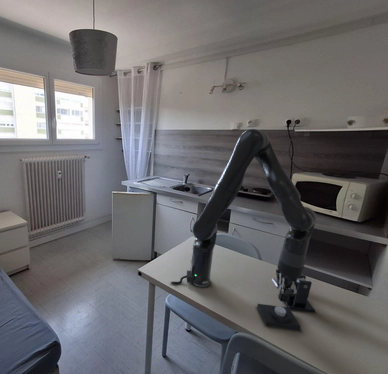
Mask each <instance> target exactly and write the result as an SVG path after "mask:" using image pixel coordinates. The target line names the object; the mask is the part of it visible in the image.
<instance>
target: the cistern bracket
mask: <svg viewBox="0 0 388 374" xmlns="http://www.w3.org/2000/svg"><path fill="white" fill-rule="evenodd" d="M299 278H304V279H305V280H306V281H302V280H299V281H298V284H296V285H295V286H296V290H299V294H297V295H295V296H288V297H287V301H286V302H283V303H284V304H285V307H288V308H289V309H290V310H291V311H292V310H293V311H300V312H307V313H308V312H309V313H316V309H315V308H314V307H313V306H312V304H311V303H310V302H309V301H308V299H309V295H310V291H311V287H312V281H310V280H307V279H306V278H307V276H306V275H305V274H302V276H301V277H299Z"/></svg>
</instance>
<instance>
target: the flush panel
mask: <svg viewBox="0 0 388 374" xmlns="http://www.w3.org/2000/svg"><path fill="white" fill-rule="evenodd" d="M276 306H277V305H271V304H263V303H257V307H256V309H257V311H258V313H259V315H260V318H261V319H262V323H264V326H265V327H269V328H270V327H271V328H278V329H285V330H292V331H300V330H301V328H302V327H301V326H302V325H301V324H300V323H299V320H297V318H296V316H295V314H293V312H292V310H291V309H289V308H288V307H287V306H280V305H279V306H280V307H283V308H284V309H285V310H286V315H285V316H284V317H281V316H279V315H277V314H276V313H275V307H276Z"/></svg>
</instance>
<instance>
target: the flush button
mask: <svg viewBox="0 0 388 374" xmlns="http://www.w3.org/2000/svg"><path fill="white" fill-rule="evenodd" d="M275 306H276V307H275V313H276V314H277V315H279V316H281V317H284V316H285V315H286V310H285V309H284V308H283V307H284V306H281V307H280V305H275Z"/></svg>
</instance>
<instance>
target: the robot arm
mask: <svg viewBox="0 0 388 374" xmlns="http://www.w3.org/2000/svg"><path fill="white" fill-rule="evenodd" d="M254 159H255V160H256V161H257V163H258V164H259V166H260V168H261V170H262V172H263V175H264V178H265V180H266V183H267V185H268V187H269V189H270V191H271V193H272V195H273V196H274V198H275V199H276V201H277V202H278V204H279V206H280V210H281V212H282V214H283V217H284V220H285V221H286V223H287V224H288V226H289V228H288V231H287V232H286V234H285V236H284V240H283V244H282V247H281V251H280V254H279V258H278V263H277V267H276V268H277V269H275V275H276V281H277V284H278V286H279V289H278V290H279V292H278V293H279V294H278V297H277V298H278V300H279V301H280V302H281V303H284V302H286V301H287V297H288V296H295V295H297V294H299V290H296V286H295V285H296V284H297V278H299V277H301V276H302V275H303V271H304V268H305V264H306V260H307V252H308V249H309V245H310V239H311V236H312V235H313V234H312V233H313V231H314V229H315V226H316V223H317V214H316V212H315V211H314V210H313V209H312V208H310V207H307V206H304V205H303V202H302V201H301V193H300V192H299V190H298V188H297V187H296V185H295V183H294V182H293V181H292V179H291V178H290V176H289V175H288V173H287V172H286V170H285V168H284V167H283V165H282V164H281V162H280V160H279V159H278V156H277V154H276V152H275V150H274V148H273V145H272V143H271V140H270V138H269V135H268V134H267V133H266V132H265V131H263V130H261V129H257V128H256V129H255V128H250V129H247V130H245V131H243V132H242V133H241V134H240V135H239V137H238V138H237V141H236V144H235V146H234V149H233V151H232V153H231V156H230V158H229V160H228V162H227V164H226V165H225V167H224V168H223V171H222V173H221V175H220V176H219V178H218V179H217V180H216V183H215V185H214V187H213V189H212V191H211V193H210V195H209V198H208V200H207V202H206V204H205V206H204V209H203V210H202V212H201V214H200V215H199V216H198V218H197V219H196V221H195V222H194V223H193V226H192V234H193V236H194V237H195V239H194V241H193V244H192V255H191V259H190V267H189V268H190V269H189V270H188V269H187V270H186V275H182V276H181V277H180V280H179V281H171V282H170V284H171V285H179V284H182V283H183V280H184V279H186V283H189V284H190V285H191V284H192V285H194V286H196V287H199V288H206V287H208V286H209V285H210V282H211V273H212V272H211V271H212V264H213V255H214V248H215V246H216V241H217V236H218V235H217V234H218V222H219V220H220V219H221V217H222V216H223V215H224V213H225V212H226V211H227V210H228V208H229V207H230V206H231V205H232V203H233V202H234V201H235V199H236V198H237V196H238V194H239V192H240V191H241V189H242V186H243V183H244V179H245V176H246V172H247V170H248V167H250V164H251V163H252V161H253V160H254Z"/></svg>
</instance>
